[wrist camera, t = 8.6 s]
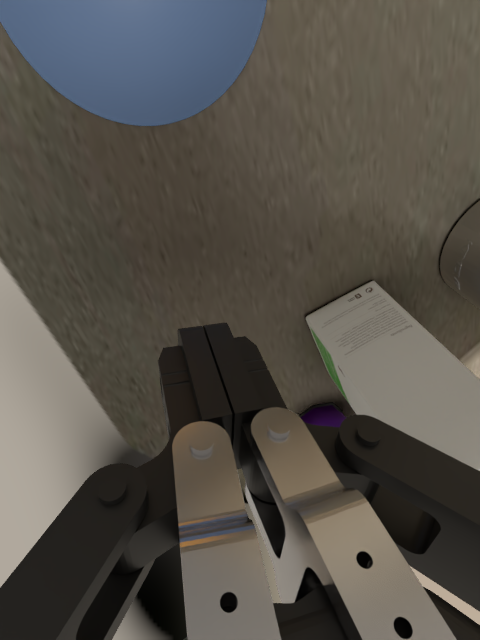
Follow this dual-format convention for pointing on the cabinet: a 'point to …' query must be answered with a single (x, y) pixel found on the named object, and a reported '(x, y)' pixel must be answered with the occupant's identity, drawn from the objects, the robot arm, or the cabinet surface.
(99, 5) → the disc
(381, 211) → the cabinet surface
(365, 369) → the skincare box
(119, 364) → the cabinet surface
